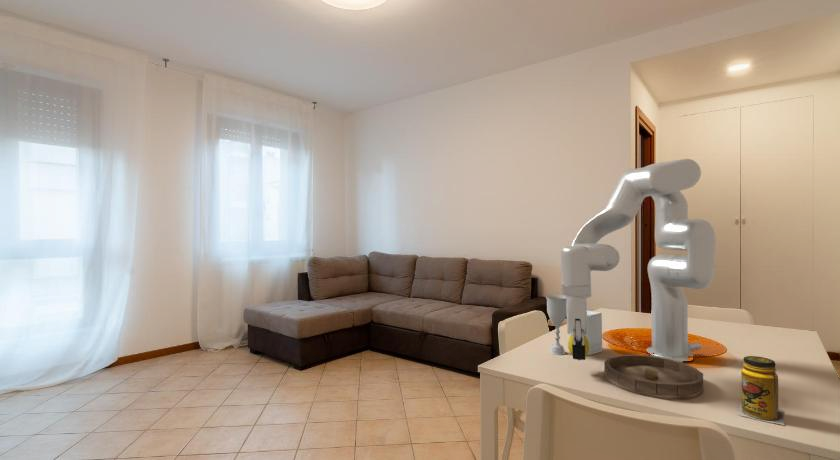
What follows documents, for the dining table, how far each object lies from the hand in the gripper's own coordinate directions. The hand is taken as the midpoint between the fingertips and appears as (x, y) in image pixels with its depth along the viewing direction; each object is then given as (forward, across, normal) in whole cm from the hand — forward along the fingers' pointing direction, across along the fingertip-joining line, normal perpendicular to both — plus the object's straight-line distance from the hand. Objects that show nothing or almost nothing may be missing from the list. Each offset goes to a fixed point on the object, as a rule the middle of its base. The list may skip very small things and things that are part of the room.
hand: (578, 354), depth 111 cm
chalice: (+5, -17, -6) cm, 19 cm away
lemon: (+2, 0, 0) cm, 2 cm away
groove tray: (+5, +1, +18) cm, 18 cm away
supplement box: (+6, -22, +2) cm, 23 cm away
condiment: (+6, +13, +36) cm, 39 cm away
